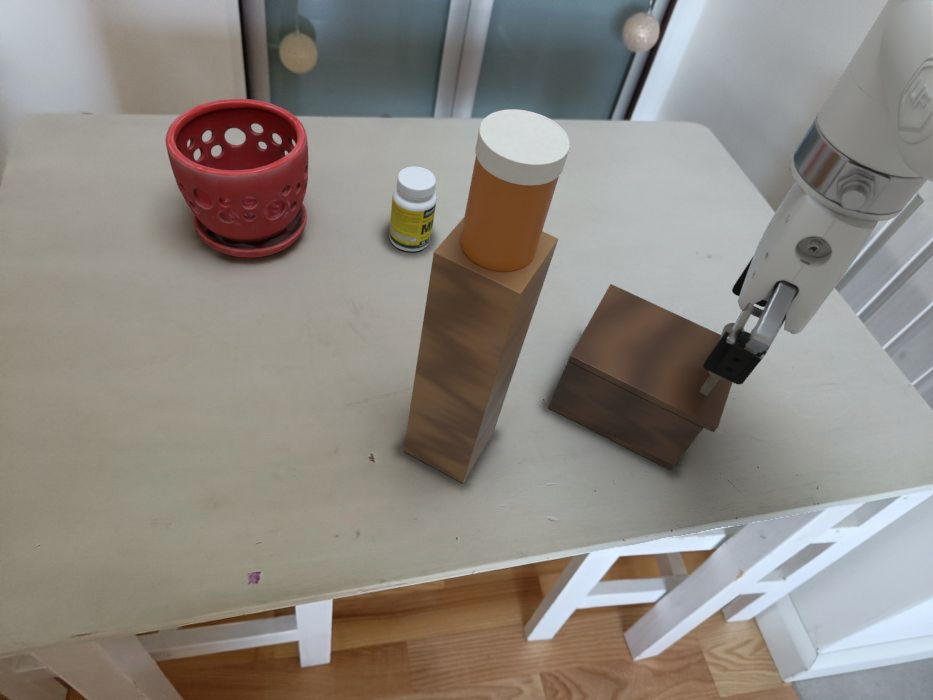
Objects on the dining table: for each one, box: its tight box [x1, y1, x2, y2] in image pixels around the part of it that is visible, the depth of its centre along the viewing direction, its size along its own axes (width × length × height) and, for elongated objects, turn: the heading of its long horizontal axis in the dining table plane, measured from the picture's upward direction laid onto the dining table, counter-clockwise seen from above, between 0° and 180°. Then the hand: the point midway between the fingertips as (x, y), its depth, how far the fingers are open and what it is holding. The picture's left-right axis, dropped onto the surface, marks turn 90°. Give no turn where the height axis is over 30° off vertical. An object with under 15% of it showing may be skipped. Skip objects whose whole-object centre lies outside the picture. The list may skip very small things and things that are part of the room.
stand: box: [403, 217, 559, 484], centre depth 53 cm, size 6×6×24 cm
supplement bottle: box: [388, 166, 438, 252], centre depth 74 cm, size 5×5×8 cm
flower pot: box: [165, 98, 309, 259], centre depth 70 cm, size 13×13×12 cm
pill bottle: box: [460, 108, 571, 272], centre depth 40 cm, size 5×5×8 cm
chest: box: [547, 360, 704, 471], centre depth 65 cm, size 13×11×7 cm
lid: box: [567, 283, 745, 433], centre depth 60 cm, size 14×11×5 cm
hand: (735, 334), depth 57 cm, fingers open, 9 cm apart
